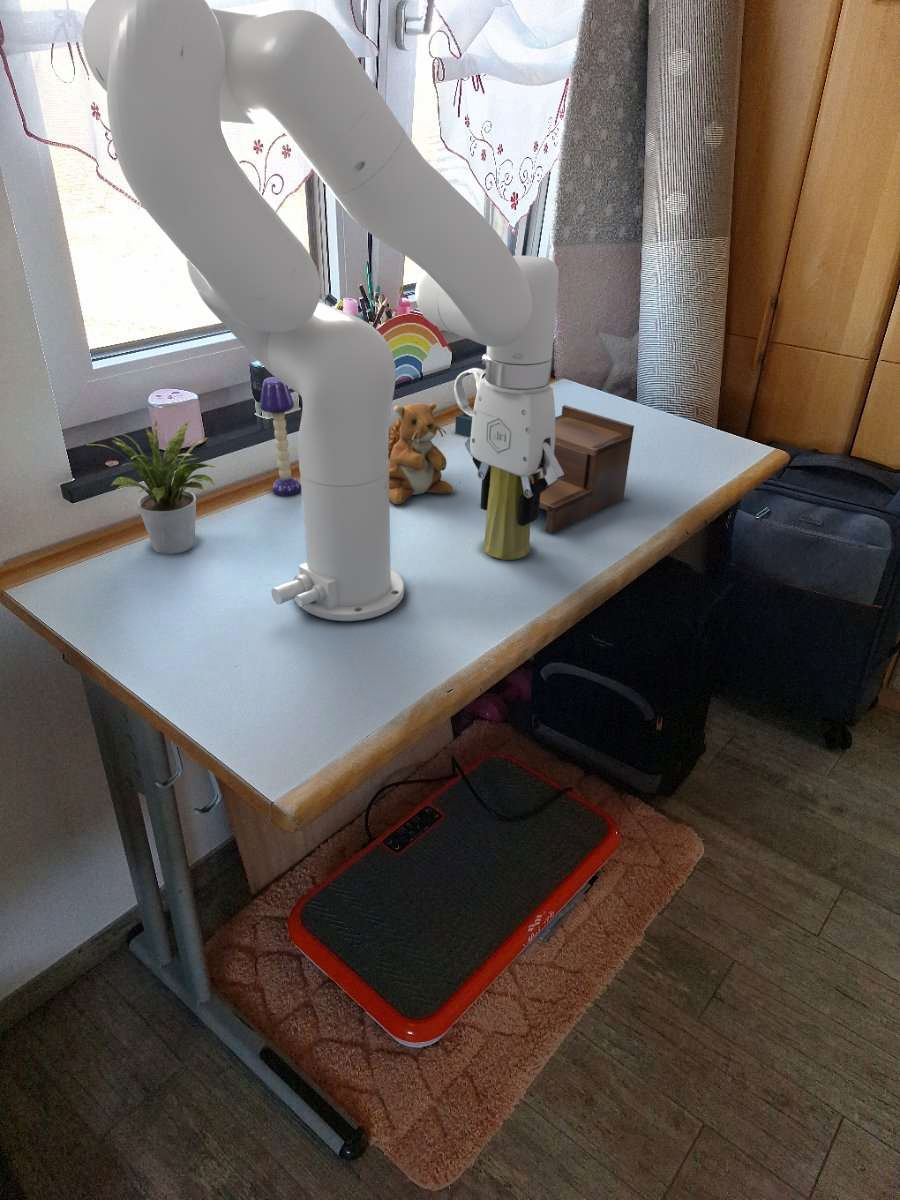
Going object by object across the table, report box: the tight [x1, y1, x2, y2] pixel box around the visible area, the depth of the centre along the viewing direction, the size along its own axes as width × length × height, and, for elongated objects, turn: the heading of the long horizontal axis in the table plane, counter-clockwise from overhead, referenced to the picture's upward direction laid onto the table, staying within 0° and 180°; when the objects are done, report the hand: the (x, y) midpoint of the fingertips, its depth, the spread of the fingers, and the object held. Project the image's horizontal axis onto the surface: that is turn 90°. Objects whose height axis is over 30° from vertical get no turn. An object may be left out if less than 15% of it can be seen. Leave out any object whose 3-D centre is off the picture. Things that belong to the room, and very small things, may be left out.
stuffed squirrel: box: [388, 402, 453, 505], centre depth 120 cm, size 10×14×13 cm
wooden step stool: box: [532, 404, 635, 535], centre depth 116 cm, size 17×12×11 cm
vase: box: [482, 466, 533, 561], centre depth 102 cm, size 6×6×14 cm
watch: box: [453, 367, 486, 438], centre depth 142 cm, size 6×8×11 cm
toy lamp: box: [259, 376, 302, 497], centre depth 116 cm, size 5×5×17 cm
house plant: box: [87, 418, 216, 555], centre depth 100 cm, size 14×14×16 cm
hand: (508, 513), depth 103 cm, fingers closed on vase, 5 cm apart
